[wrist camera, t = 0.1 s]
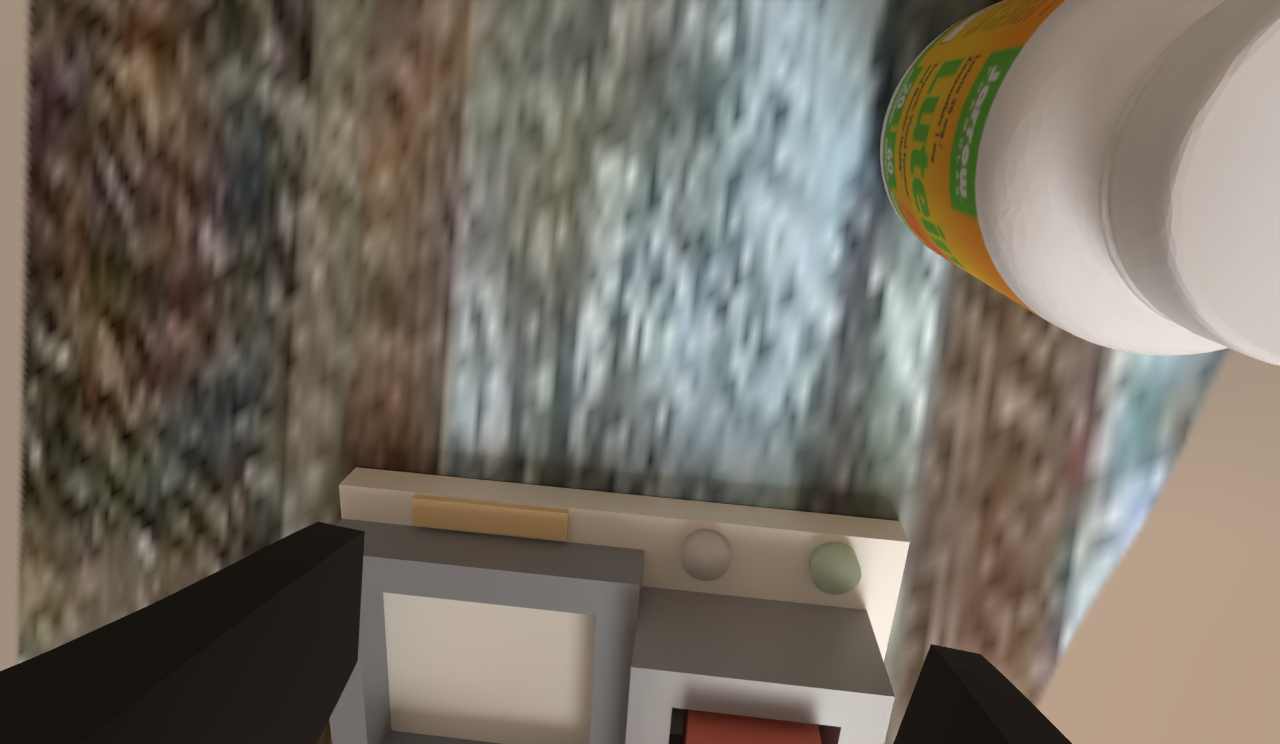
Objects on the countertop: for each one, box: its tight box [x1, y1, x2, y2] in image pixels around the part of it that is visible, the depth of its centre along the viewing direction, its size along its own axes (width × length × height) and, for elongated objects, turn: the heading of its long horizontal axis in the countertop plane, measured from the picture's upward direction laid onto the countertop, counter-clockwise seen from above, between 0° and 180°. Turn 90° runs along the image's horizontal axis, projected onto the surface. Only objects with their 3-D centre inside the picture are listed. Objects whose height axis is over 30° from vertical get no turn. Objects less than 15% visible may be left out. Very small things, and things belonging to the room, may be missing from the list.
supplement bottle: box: [880, 0, 1280, 365], centre depth 11 cm, size 5×5×10 cm
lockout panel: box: [329, 467, 910, 744], centre depth 19 cm, size 10×14×4 cm
